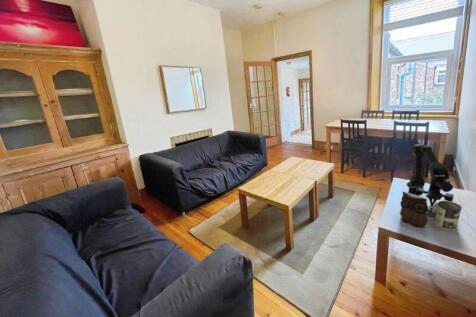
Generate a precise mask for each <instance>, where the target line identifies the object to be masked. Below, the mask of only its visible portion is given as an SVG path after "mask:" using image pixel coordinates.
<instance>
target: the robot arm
mask: <svg viewBox="0 0 476 317" xmlns="http://www.w3.org/2000/svg"><path fill="white" fill-rule="evenodd" d="M410 150H411V154H412V156H413V170H412V172H413V173H412V175H411V177H410V179H409V181H408V182H407V183H406V186H407V188H408V192H407V193H411V194H415V195H417V196H422V195H423V194H424V195H425V194H426V195H425V198H427V199H428V200H429V203H430V205H431V206H433V205H434V204H436V202H438V201H441V199H442V198H444V201H450V202H454V194H452V193H449V192H451V191H452V190H454V188H453V185H452V183H451V181H450V174H449V172H448V169H447V168H446V166H445V165H444V164H443V163H441V162H440V161H439V160H438V158H437V157H436V154H435V153H434V151H433V149H432V147H431V146H429V145H426V144H424V143H421V144H420V143H419V144H413V145H412V146H410ZM423 157H424V158H425V159H426V161H427V163H428V164H429V168H428V170H429V173H430V174H429V176H430V182H429V188H428V190H425V188H424V187H425V185H426V183H425V181H426V179H425V178H424V177H423V159H424V158H423ZM441 191H442V192H444V193H445V194H444V193H441Z"/></svg>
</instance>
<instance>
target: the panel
mask: <svg viewBox="0 0 476 317" xmlns="http://www.w3.org/2000/svg"><path fill="white" fill-rule="evenodd" d="M432 209H433V206H431V204H429V205H428V212H426V213H427V217H428V216H429V217H431V218H432V217H433V218H435V217H436V212H435V213H433V211H432Z"/></svg>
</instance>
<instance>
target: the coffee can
mask: <svg viewBox="0 0 476 317" xmlns="http://www.w3.org/2000/svg"><path fill="white" fill-rule="evenodd" d="M437 202H438V207H437V212H436V217H434V222H433V223H434V225H435V226H437V228H441V229H442V230H445V231H456V230H457V228H458V224H459V219H460V217H461V211H462V206H461V205H460V204H458V203H455V202H454V201H452V202H450V201H446V200H439V201H437Z"/></svg>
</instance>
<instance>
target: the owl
mask: <svg viewBox="0 0 476 317" xmlns="http://www.w3.org/2000/svg"><path fill="white" fill-rule="evenodd" d="M400 207H401V208H400V212H399V215H400V216H401V218H400V221H402V222H403V223H404V222H405V224H408V225H409V224H410V225H409V226H412V227H414V228H422V229H425V227H426V225H427V224H428V223H429V219H428V218H429V217H428V215H427V213H426V212H428V207H429V205H428V198H426V197H423V196H421V195H419V196H417V195H415V194H411V193H408V192H405V191H403V192H402V197H401V201H400Z"/></svg>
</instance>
